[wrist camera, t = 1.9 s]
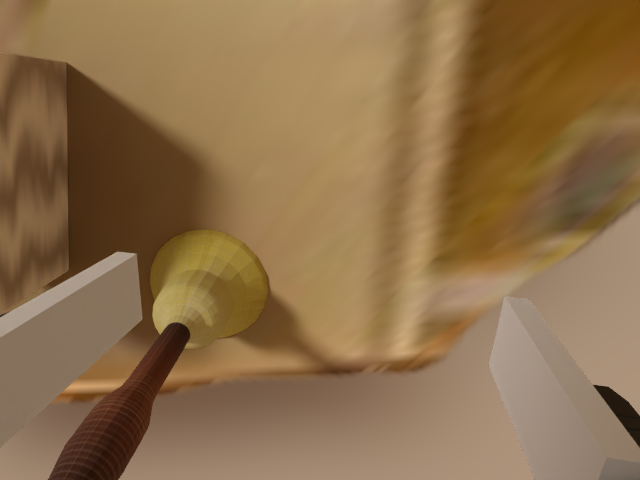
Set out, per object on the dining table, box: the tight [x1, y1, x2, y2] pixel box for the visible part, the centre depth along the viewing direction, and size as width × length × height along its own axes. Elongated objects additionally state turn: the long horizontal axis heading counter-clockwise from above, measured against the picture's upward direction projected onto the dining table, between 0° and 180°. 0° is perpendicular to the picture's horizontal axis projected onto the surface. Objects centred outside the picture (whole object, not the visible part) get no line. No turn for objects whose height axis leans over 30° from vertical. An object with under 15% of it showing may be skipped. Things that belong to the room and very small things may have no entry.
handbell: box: [48, 229, 268, 480], centre depth 31 cm, size 12×12×25 cm
